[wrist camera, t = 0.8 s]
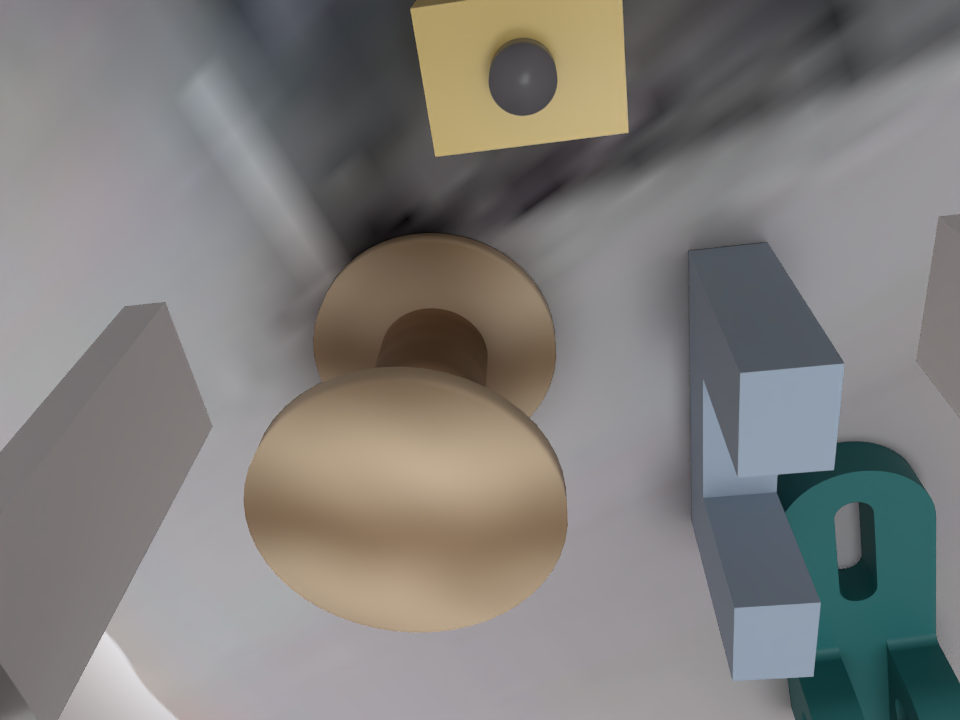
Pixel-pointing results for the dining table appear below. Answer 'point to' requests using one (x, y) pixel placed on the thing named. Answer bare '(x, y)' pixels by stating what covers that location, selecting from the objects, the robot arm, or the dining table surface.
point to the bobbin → (417, 444)
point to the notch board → (757, 451)
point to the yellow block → (520, 71)
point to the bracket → (871, 592)
